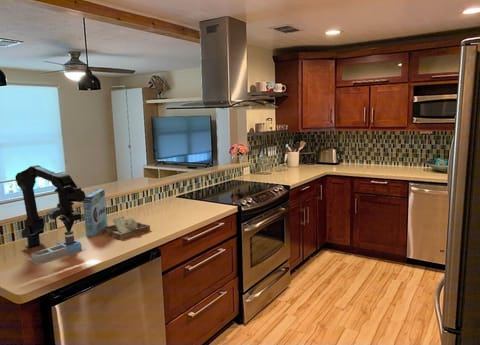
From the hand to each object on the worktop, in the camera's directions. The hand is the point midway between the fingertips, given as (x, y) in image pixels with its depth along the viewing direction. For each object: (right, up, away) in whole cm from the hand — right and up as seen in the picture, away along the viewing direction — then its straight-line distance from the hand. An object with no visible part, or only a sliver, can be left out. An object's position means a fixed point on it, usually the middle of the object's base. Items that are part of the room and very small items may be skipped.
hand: (68, 231), depth 179 cm
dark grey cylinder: (0, -9, +2) cm, 9 cm away
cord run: (-8, -9, +9) cm, 15 cm away
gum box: (+1, -5, +33) cm, 34 cm away
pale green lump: (+18, -6, +28) cm, 33 cm away
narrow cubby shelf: (-4, -11, -3) cm, 12 cm away
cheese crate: (+19, -5, +30) cm, 36 cm away
